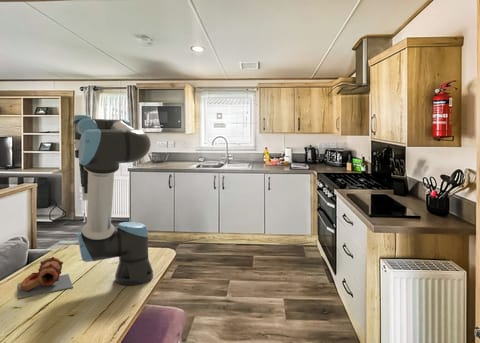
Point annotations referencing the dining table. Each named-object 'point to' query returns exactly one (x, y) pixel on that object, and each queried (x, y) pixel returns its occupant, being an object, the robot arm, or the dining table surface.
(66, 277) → the mat
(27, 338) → the dining table surface
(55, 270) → the orange hollow piece
